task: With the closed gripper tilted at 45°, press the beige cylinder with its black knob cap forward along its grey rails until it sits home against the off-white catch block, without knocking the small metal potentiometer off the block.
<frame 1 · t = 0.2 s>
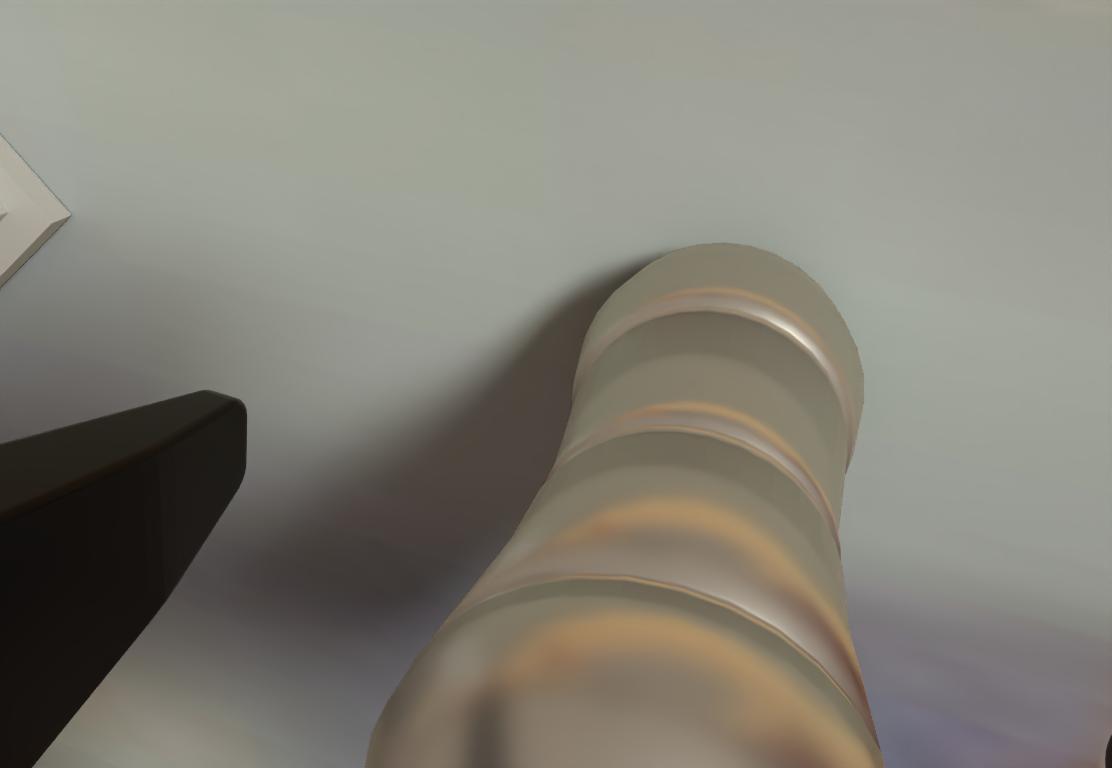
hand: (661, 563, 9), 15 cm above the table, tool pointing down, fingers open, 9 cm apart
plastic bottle: (726, 342, 24), on the table
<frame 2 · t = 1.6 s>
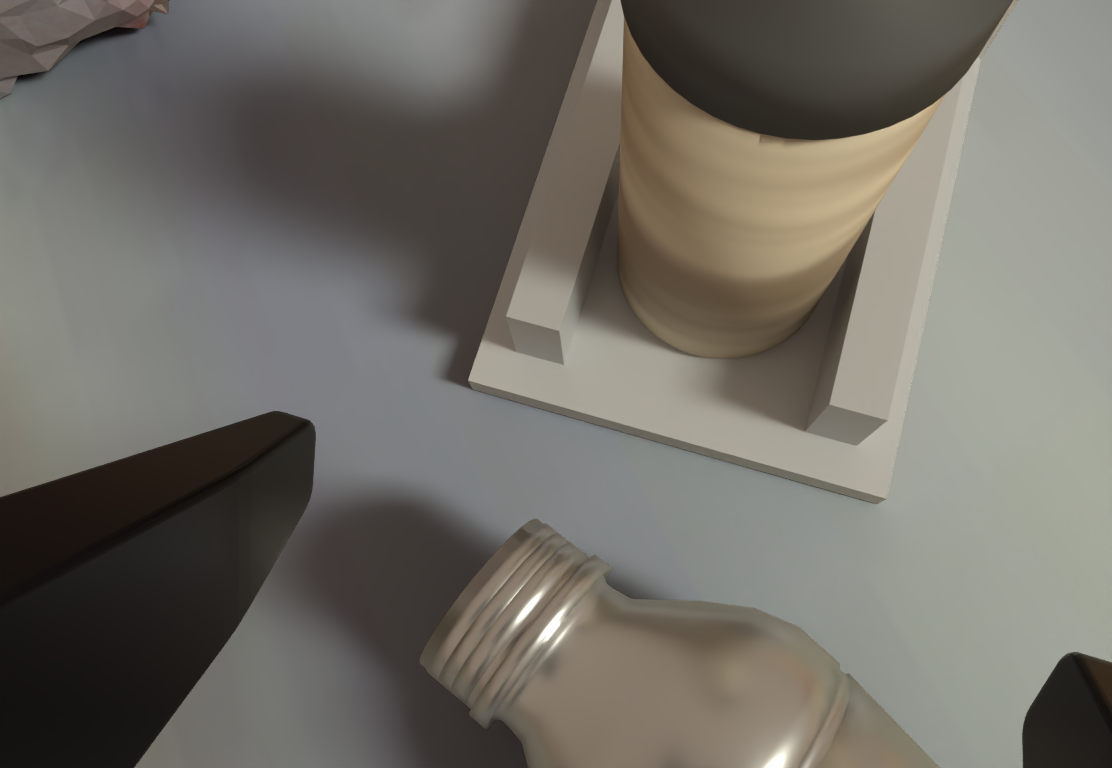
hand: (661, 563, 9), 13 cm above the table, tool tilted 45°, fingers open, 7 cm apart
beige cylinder: (758, 132, 17), point 7 cm above the table, slide at 4.5 cm
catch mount: (758, 124, 25), on the table
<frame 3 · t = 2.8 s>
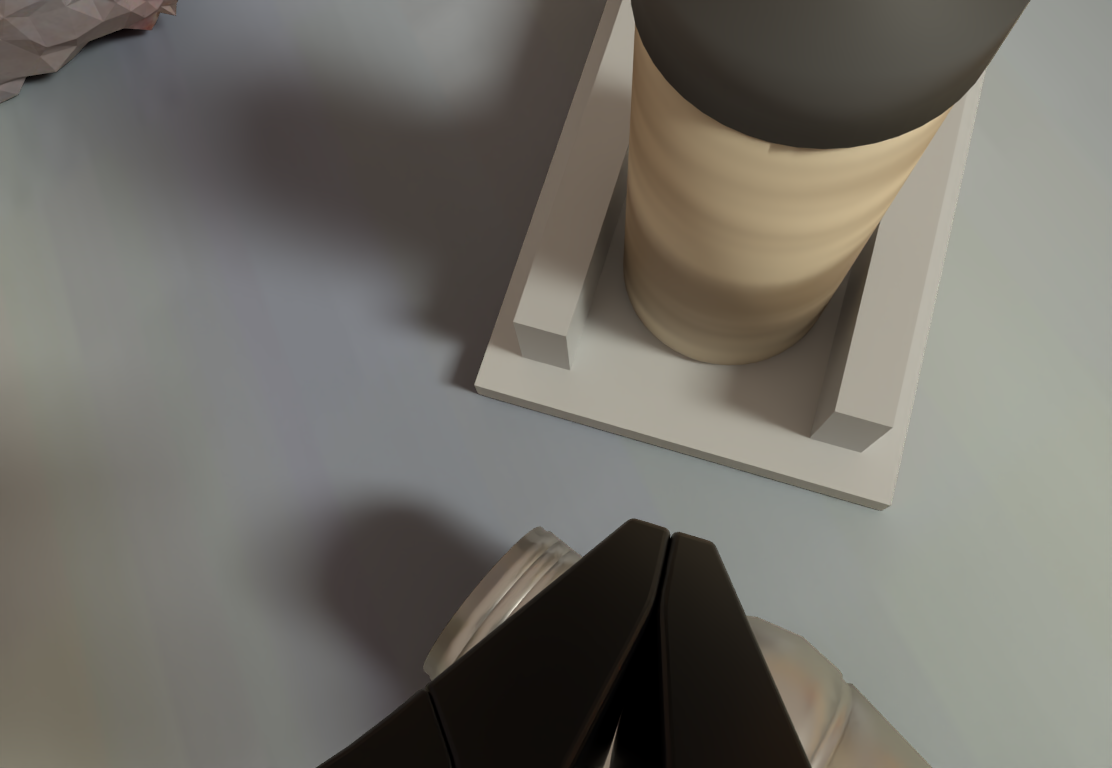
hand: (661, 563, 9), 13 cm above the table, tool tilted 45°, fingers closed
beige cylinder: (766, 140, 17), point 7 cm above the table, slide at 4.5 cm
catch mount: (764, 131, 25), on the table
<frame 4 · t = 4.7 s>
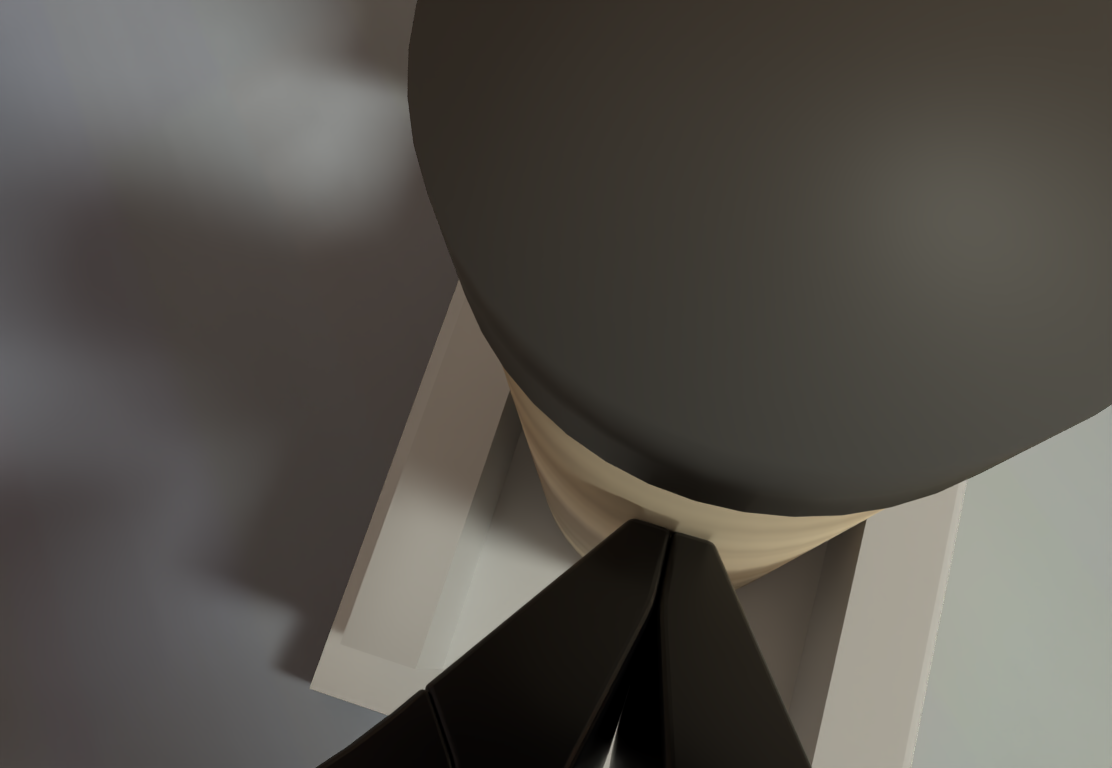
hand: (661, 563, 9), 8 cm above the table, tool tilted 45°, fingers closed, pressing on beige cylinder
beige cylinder: (718, 353, 11), point 7 cm above the table, slide at 3.3 cm, touching gripper
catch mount: (718, 312, 19), on the table
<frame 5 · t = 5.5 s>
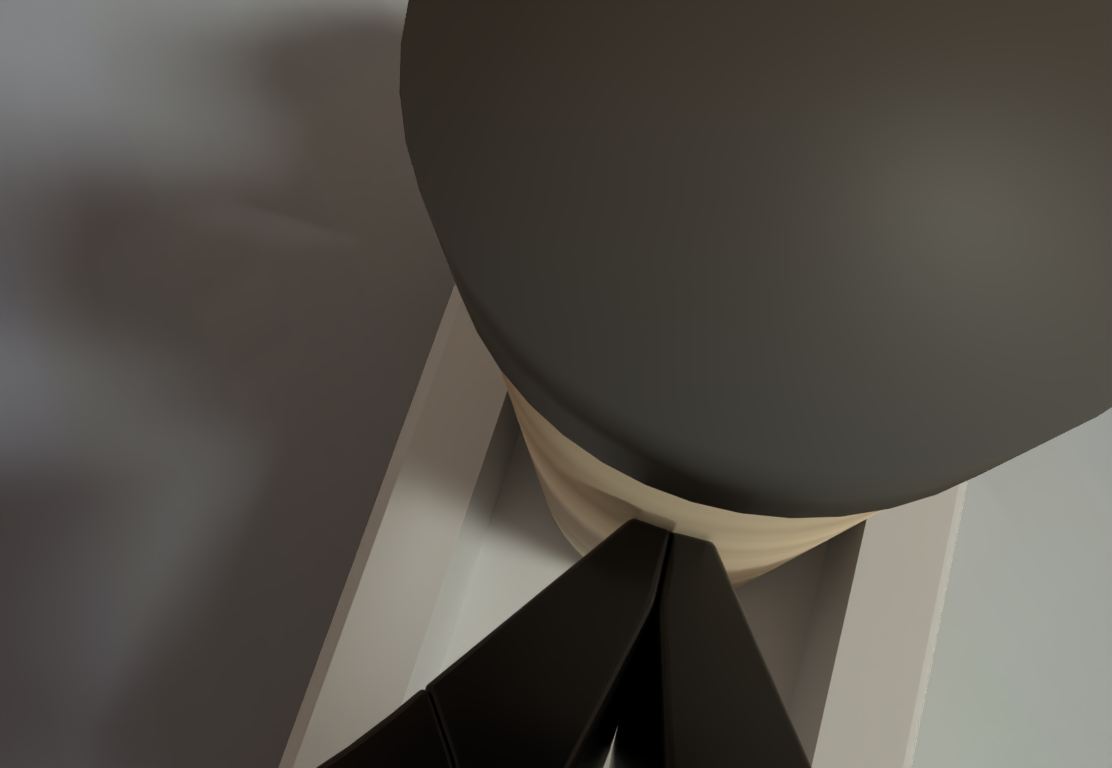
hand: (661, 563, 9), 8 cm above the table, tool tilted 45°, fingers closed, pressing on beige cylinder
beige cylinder: (717, 351, 11), point 7 cm above the table, slide at -0.1 cm, touching gripper
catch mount: (673, 471, 18), on the table
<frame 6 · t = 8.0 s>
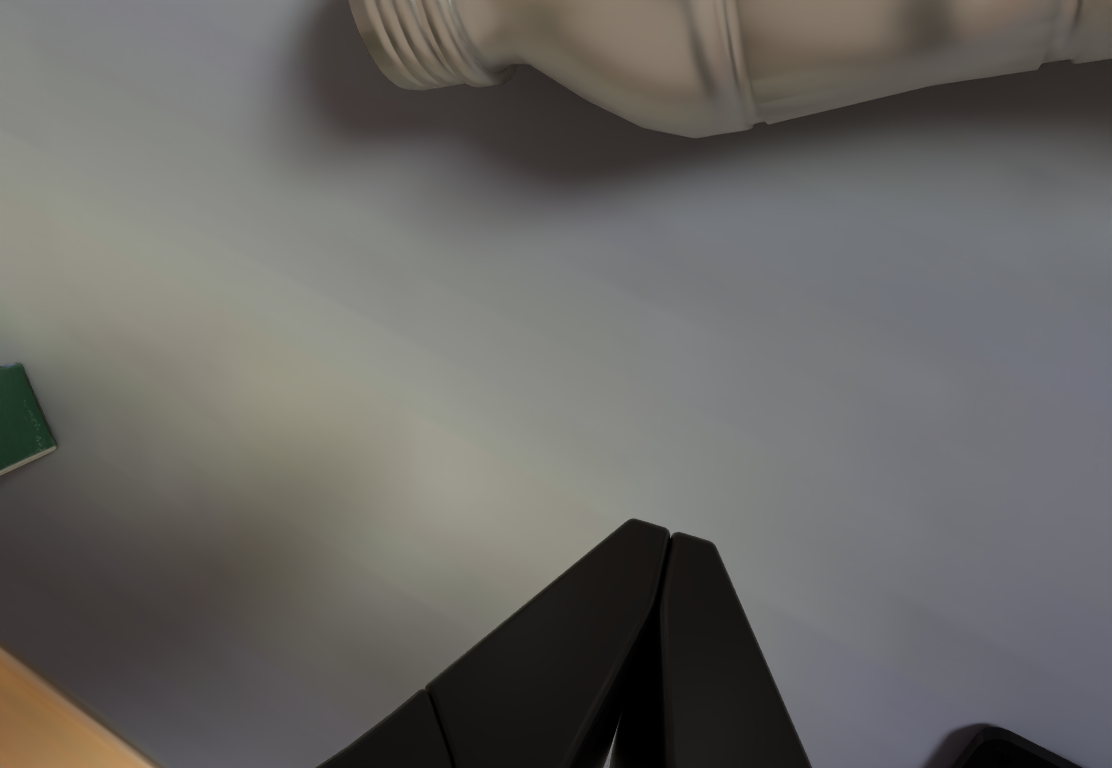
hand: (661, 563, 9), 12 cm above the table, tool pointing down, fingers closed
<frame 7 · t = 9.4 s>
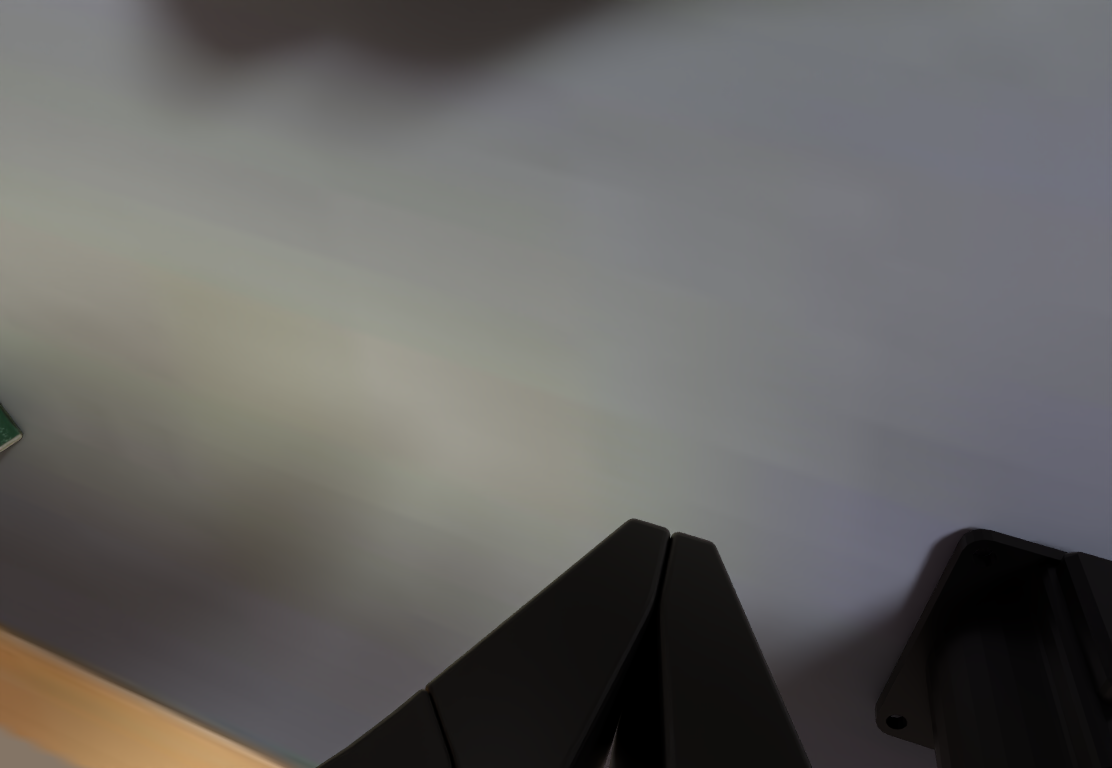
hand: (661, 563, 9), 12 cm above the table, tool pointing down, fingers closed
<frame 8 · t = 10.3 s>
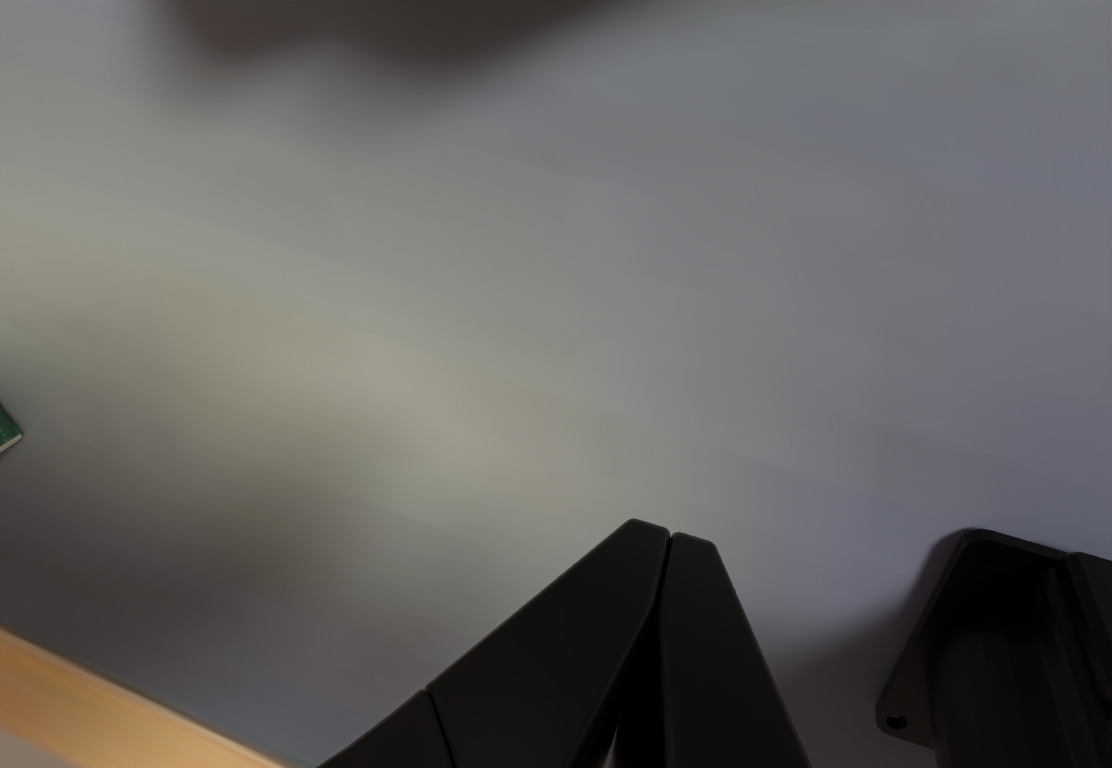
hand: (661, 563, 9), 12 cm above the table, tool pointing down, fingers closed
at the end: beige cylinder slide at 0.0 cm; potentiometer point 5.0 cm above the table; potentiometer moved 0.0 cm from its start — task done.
